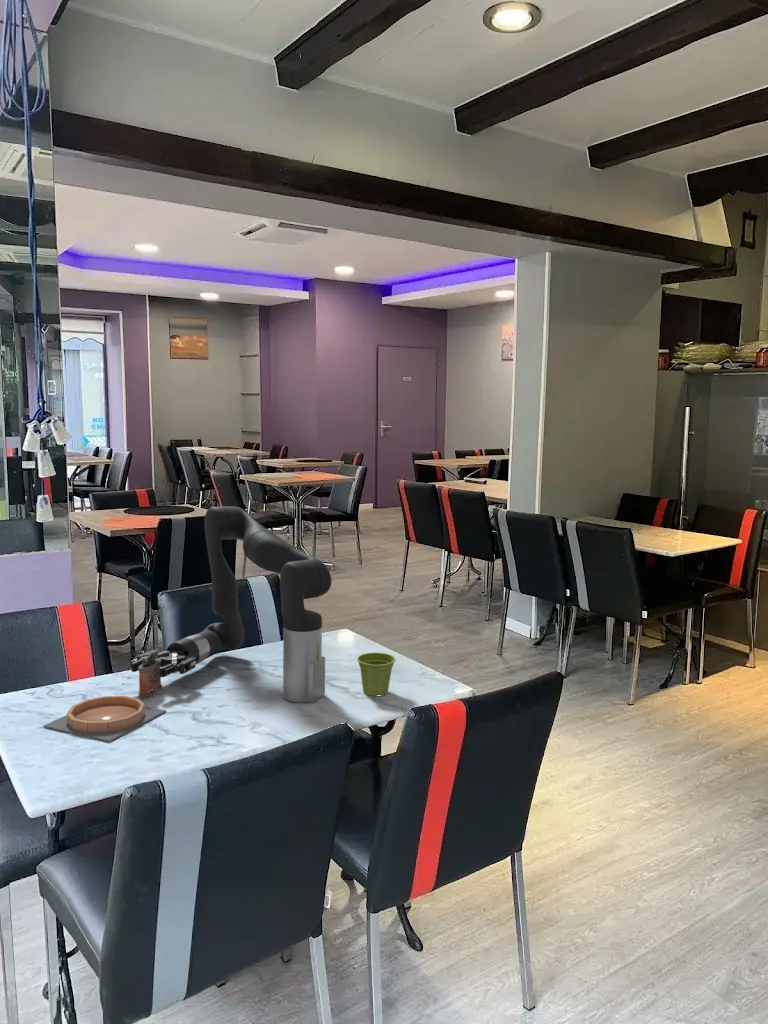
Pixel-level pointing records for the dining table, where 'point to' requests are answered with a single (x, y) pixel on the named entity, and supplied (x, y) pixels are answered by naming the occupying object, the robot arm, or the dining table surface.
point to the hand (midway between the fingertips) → (146, 670)
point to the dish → (105, 714)
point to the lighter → (149, 675)
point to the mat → (105, 736)
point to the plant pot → (375, 672)
